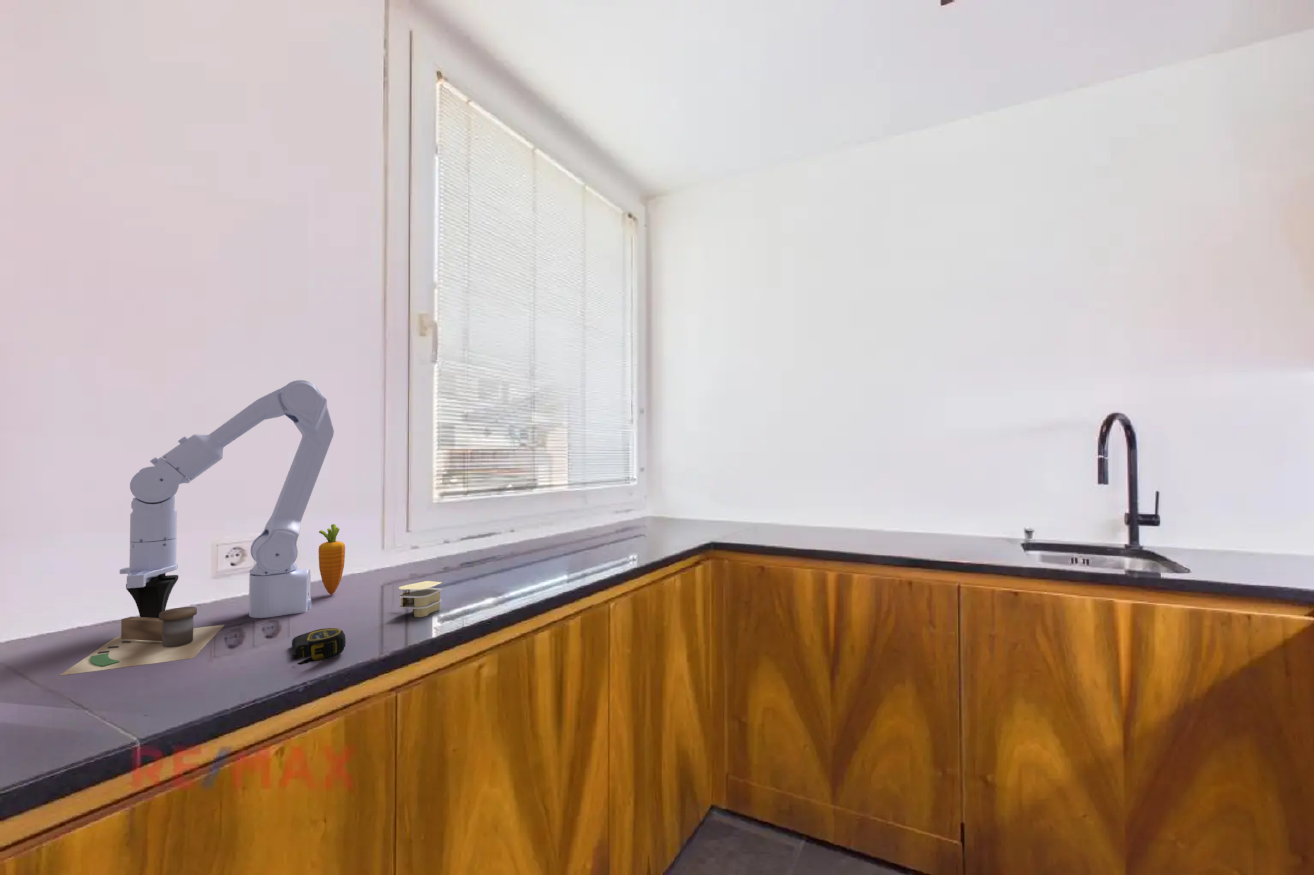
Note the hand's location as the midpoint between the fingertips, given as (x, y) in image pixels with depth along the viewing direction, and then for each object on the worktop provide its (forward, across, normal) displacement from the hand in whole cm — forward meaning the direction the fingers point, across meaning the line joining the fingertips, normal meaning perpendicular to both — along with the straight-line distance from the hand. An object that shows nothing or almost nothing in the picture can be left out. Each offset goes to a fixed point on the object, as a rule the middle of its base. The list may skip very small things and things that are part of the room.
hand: (152, 622), depth 91 cm
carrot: (+3, -20, +24) cm, 32 cm away
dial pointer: (+1, +8, +3) cm, 8 cm away
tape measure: (+3, +22, +25) cm, 33 cm away
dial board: (+3, +10, +3) cm, 11 cm away
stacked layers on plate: (+3, +3, +40) cm, 41 cm away
